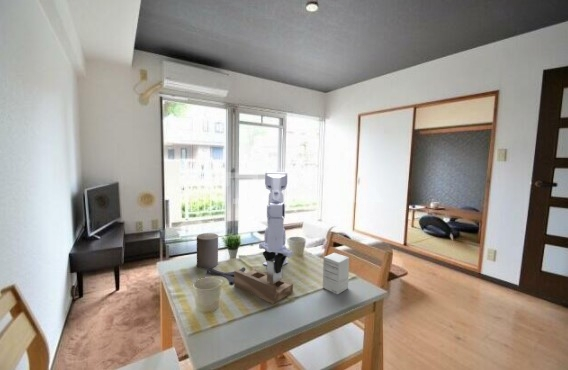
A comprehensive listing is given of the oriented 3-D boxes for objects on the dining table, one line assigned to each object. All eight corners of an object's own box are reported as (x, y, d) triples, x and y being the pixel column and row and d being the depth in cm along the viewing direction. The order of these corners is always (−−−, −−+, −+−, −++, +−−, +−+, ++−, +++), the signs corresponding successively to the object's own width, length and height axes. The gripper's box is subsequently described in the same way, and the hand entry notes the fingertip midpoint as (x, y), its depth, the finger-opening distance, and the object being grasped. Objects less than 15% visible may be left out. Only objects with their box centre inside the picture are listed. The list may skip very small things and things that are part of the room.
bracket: (214, 267, 121) (214, 261, 121) (245, 270, 119) (245, 264, 118) (198, 282, 107) (198, 275, 107) (233, 286, 104) (233, 279, 104)
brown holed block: (255, 275, 112) (255, 262, 112) (292, 291, 100) (293, 276, 99) (234, 285, 103) (234, 270, 103) (273, 304, 91) (273, 287, 90)
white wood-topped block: (277, 275, 102) (278, 255, 102) (283, 278, 101) (284, 257, 100) (266, 281, 98) (267, 260, 97) (273, 283, 96) (273, 262, 95)
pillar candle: (192, 267, 119) (192, 235, 118) (203, 259, 129) (203, 229, 127) (212, 270, 117) (212, 237, 116) (221, 261, 127) (222, 231, 125)
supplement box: (332, 281, 108) (334, 252, 107) (348, 288, 103) (350, 257, 102) (321, 287, 103) (323, 256, 102) (337, 295, 98) (339, 262, 97)
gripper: (253, 234, 98) (253, 269, 100) (284, 242, 89) (283, 280, 91) (266, 230, 104) (265, 263, 105) (296, 237, 95) (295, 274, 96)
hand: (274, 271), depth 98 cm, fingers closed on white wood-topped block, 3 cm apart
